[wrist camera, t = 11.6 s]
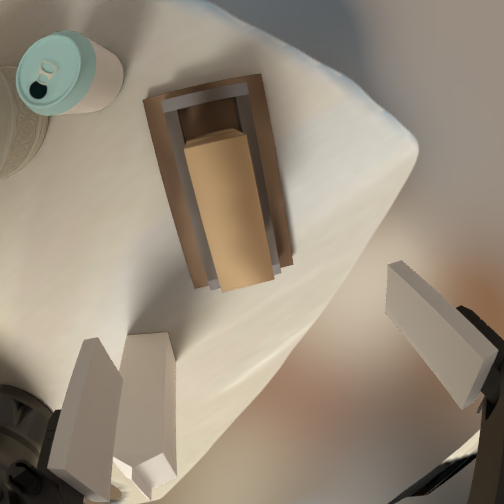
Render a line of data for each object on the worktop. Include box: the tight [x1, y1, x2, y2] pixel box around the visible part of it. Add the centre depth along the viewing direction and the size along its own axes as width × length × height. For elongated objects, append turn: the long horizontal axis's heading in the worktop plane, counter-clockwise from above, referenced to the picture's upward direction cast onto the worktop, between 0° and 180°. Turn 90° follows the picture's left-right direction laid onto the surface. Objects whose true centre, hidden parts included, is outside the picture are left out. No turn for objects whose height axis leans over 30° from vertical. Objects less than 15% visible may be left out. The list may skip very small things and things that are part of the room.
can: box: [16, 31, 123, 116], centre depth 22 cm, size 7×7×12 cm
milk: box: [113, 332, 177, 501], centre depth 33 cm, size 6×6×22 cm
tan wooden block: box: [184, 128, 274, 292], centre depth 29 cm, size 5×12×10 cm, turn 11°
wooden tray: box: [143, 74, 293, 290], centre depth 33 cm, size 12×22×4 cm, turn 11°
